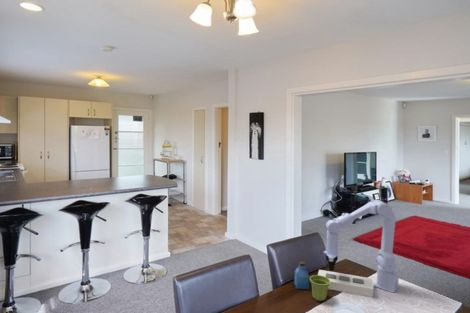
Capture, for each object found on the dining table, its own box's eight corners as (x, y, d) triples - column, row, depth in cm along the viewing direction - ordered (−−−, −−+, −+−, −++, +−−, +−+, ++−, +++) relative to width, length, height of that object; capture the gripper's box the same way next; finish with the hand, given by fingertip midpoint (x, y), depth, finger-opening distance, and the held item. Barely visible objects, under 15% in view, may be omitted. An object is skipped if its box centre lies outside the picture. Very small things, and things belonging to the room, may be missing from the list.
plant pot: (330, 294, 146) (330, 277, 145) (329, 304, 137) (330, 285, 136) (310, 291, 149) (310, 273, 148) (308, 300, 140) (308, 282, 139)
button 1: (335, 282, 157) (335, 274, 157) (335, 286, 153) (335, 278, 153) (326, 280, 159) (326, 273, 159) (325, 284, 155) (326, 276, 155)
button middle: (348, 284, 155) (349, 277, 155) (348, 288, 151) (349, 280, 151) (339, 283, 157) (340, 275, 156) (339, 286, 153) (339, 279, 152)
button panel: (371, 286, 155) (371, 278, 155) (373, 297, 144) (373, 289, 143) (318, 276, 164) (319, 269, 164) (316, 286, 153) (316, 279, 153)
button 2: (362, 287, 153) (362, 279, 153) (362, 291, 149) (363, 283, 149) (353, 285, 154) (353, 277, 154) (353, 289, 150) (353, 281, 150)
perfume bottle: (309, 289, 151) (309, 265, 150) (296, 288, 151) (297, 265, 150) (306, 283, 157) (307, 260, 156) (294, 282, 157) (295, 260, 156)
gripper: (325, 238, 163) (324, 263, 164) (322, 247, 150) (322, 274, 150) (339, 240, 161) (338, 265, 161) (338, 249, 147) (337, 277, 148)
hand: (331, 270), depth 156 cm, fingers closed
